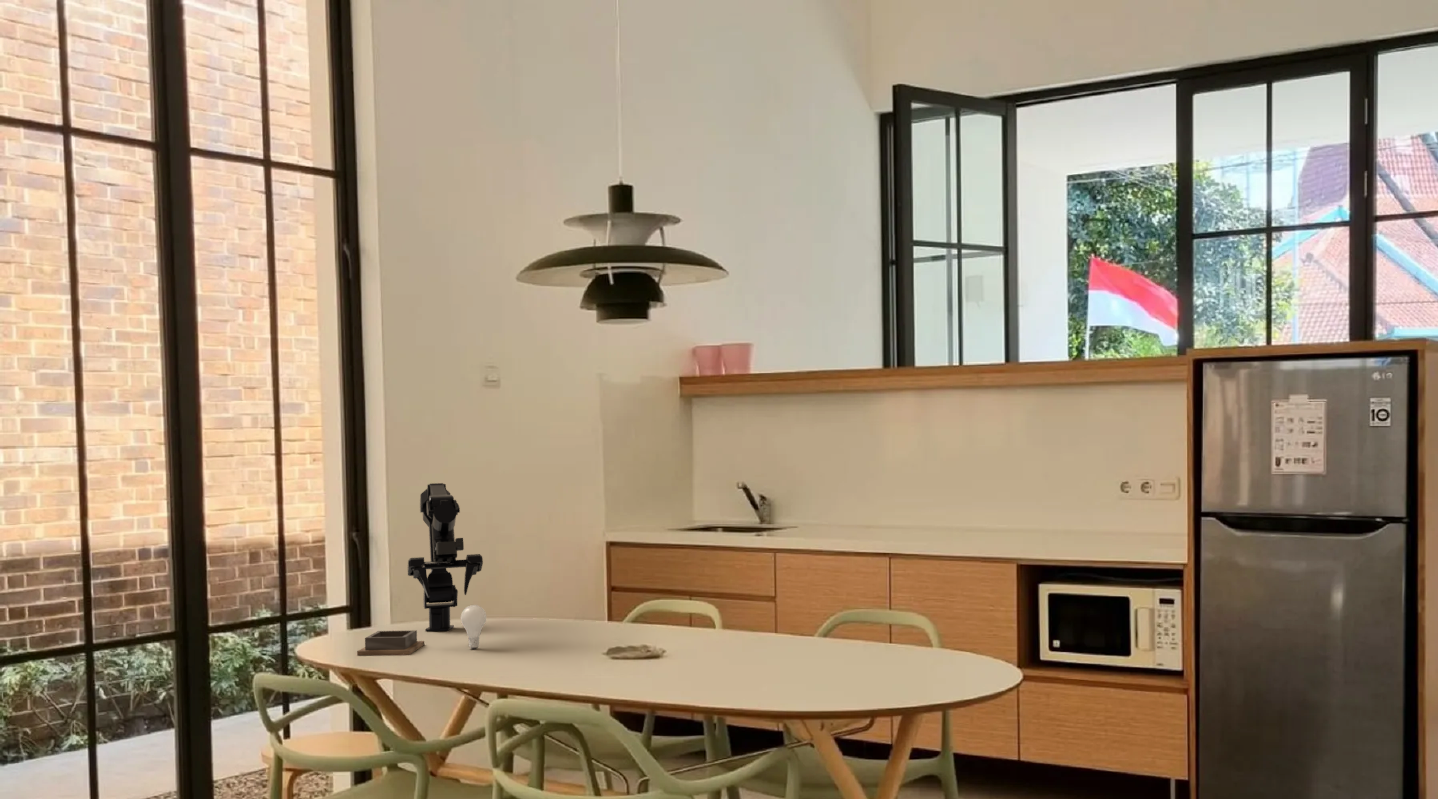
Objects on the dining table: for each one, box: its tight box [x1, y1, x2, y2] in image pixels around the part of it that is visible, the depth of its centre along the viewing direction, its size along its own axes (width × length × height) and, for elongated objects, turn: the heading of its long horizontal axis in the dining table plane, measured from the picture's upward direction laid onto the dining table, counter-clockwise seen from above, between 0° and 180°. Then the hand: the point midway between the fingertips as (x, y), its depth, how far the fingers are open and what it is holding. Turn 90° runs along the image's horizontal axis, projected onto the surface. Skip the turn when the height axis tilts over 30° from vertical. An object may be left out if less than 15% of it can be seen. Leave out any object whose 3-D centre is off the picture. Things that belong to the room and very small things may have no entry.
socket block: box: [356, 630, 425, 656], centre depth 300 cm, size 13×13×4 cm
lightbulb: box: [460, 604, 487, 650], centre depth 300 cm, size 6×6×11 cm
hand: (447, 595), depth 305 cm, fingers open, 9 cm apart
